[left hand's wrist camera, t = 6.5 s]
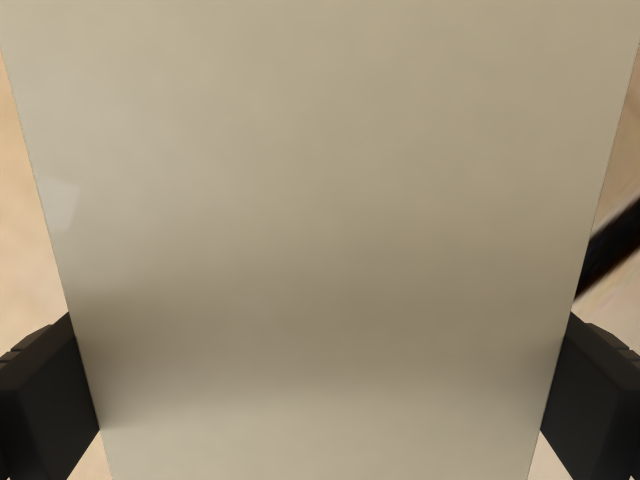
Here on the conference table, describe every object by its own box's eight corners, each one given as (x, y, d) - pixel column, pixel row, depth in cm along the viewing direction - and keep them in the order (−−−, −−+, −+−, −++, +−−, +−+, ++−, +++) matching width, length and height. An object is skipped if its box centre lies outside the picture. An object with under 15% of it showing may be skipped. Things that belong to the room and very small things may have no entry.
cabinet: (176, -124, 14) (-201, -714, 4) (463, -124, 14) (840, -717, 4) (219, 299, 20) (116, 501, 10) (420, 299, 20) (523, 501, 10)
